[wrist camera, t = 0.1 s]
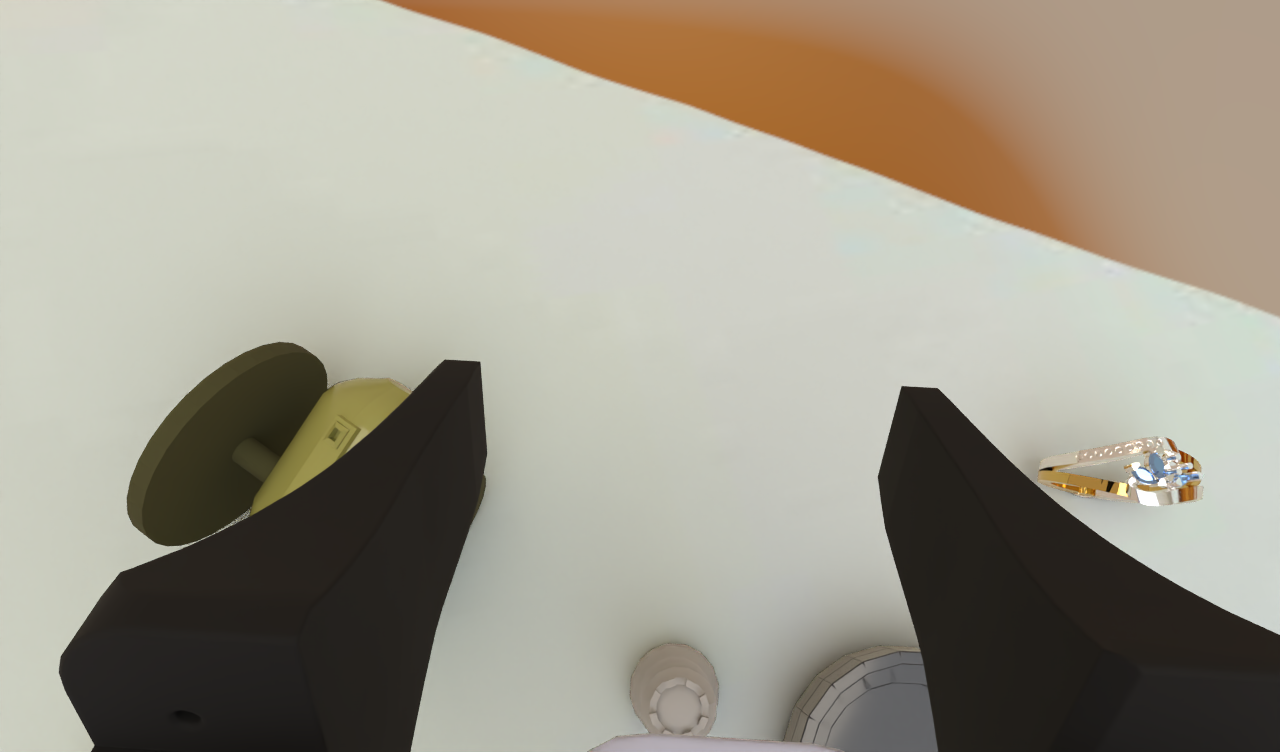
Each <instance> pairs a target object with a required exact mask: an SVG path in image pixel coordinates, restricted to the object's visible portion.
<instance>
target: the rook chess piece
mask: <svg viewBox="0 0 1280 752" xmlns="http://www.w3.org/2000/svg"><path fill="white" fill-rule="evenodd" d="M718 691H719V683H718V680H717V677H716V674H715V671H714V668H713V666H712V665H711V664H710V662H709V661H708V660H707V659H706V658H705V656H704V655H703V654H702V653H701V652H699V651H697V650H695V649H693V648H691V647H689V646H688V645H685V644H672V643H668V644H665V645H662V646H659V647H656V648H653V649H651V650H650V651H649V652H648V653H647V654H646V655H645V656H644V657H642V658H641V659H640V660H639V662H638V664H637V666H636V668H635V670H634V672H633V674H632V676H631V684H630V698H631V701H632V704H633V708H634V711H635V714H636V715H637V717H638V718H639V719H640V720H641V721H642V723H643V724H644V725H645V728H646V729H647V730H648V731H649V733H655V734H671V735H687V736H703V737H705V736H706V735H707V734H708V733H709V732H710V730H711V728H712V726H713V724H714V721H715V719H716V709H717V705H718Z"/></svg>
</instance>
